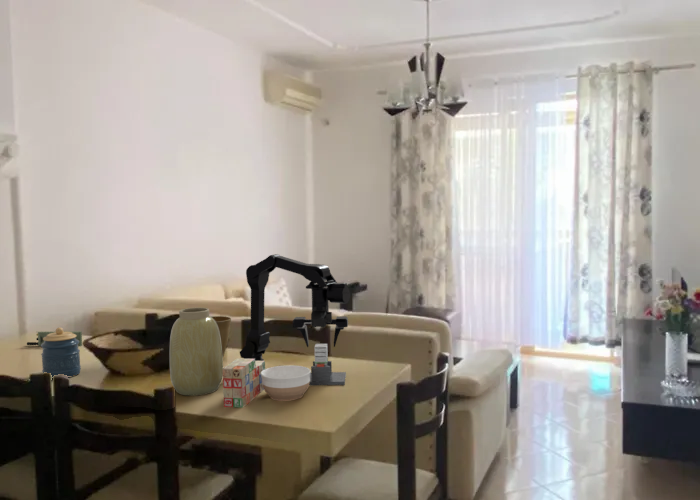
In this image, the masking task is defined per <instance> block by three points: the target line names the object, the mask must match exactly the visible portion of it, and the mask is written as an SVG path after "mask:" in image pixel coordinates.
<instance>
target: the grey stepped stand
mask: <svg viewBox="0 0 700 500" xmlns="http://www.w3.org/2000/svg"><path fill="white" fill-rule="evenodd" d="M332 364H333V363H332V360H328V366H324V364H317V366H315V360H313V361H312V366H311V365H310V370H311V373H310V383H309V386H345V385H346V379H345V378H346V377H347V372H346V371H343V372H342V371H337V372H336V371H332V368H333V367H332Z"/></svg>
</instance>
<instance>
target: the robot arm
mask: <svg viewBox="0 0 700 500" xmlns="http://www.w3.org/2000/svg"><path fill="white" fill-rule="evenodd" d="M275 269H281V270H284V271H287V272H290V273H291V272H292V273H294V274H298V275H300V276H303V278H305V279H306V280H308V281H309V283H308V284H307V285H306V286H305V289H306V290H307V289H308V290H309V289H311V313H310V319H309V318H308V319H306V316H295V317H294V318H293V320H292V328H293V329H296V330H297V331H300V333H301V334H302V337H303V340H304V343H305V345H306V347H307V348H309V334H308V333H309V332H308V326H309V325H311V327H312V328H318V327H319V328H320V327H321V328H325V327H326V326H327V325H331V326H332V325H335V327H334V337H333V338H334V339H333V348H335V347H336V345H337V340H338V337H339V334H340V332H341V330H344V329H345V328H348V325H349V318H348V316H345V315H344V316H336V317H335V318H333V314H332V311H329V309H330V308H329V306H330V305H329V304H330V303H332V304H333V303H334V304H348V303H349V301H350V300H351V299H350V298H351V292H350V288H349V287H348V283H347V282H342V283H338V281H336V279H335V278H334V276H333V275H332V273H331V270H330V268H329V266H328V265H326V264H319V263H306V262H303V261H300V260H296V259H292V258H290V257H285V256H284V255H283V256H282V255H280V254H278V253H277V254H271V255H268V256H267V257H266V258H265V259H263V260H261V261H259V262H257V263H255V264H253V265H252V264H251V265H249V266H248V267H247V268H246V271H245V275H246V276H245V277H246V282H247V285H248V286H249V288H250V328H249V331H248V333H247V335H246V339H245V345H244V347H243V348H242V349H241V350H240V351H239V355H240V358H242V359H255V361H265V360H264V358H263V355H264V354H265V353H266V350H267V349H268V348H269V345H270V344H271V341H270V337H271V333H270V332H269V331H266V328H265V289H266V287H267V284H268V283H269V278H270V274H271V272H273V271H274V270H275Z"/></svg>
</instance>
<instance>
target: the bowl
mask: <svg viewBox="0 0 700 500" xmlns="http://www.w3.org/2000/svg"><path fill="white" fill-rule="evenodd" d="M310 373H311V368H309V367H307V366H304V365H303V366H302V365H295V364H294V365H290V364H288V365H287V364H286V365H278V366H277V365H276V366H271V367H267V368H265V370H263V371H262V372H261V376H262V384H263V388H264V390H263V391H265V393H266V394H267V395H268V396H269V399H271V400H274V401H280V402H283V401H284V402H289V401H295V400H299V399H301V398H302V397H303V396H304V393H306V392H307V390H308V388H309V387H310V385H309V383H310Z"/></svg>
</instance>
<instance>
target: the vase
mask: <svg viewBox="0 0 700 500" xmlns="http://www.w3.org/2000/svg"><path fill="white" fill-rule="evenodd" d="M178 313H179V317H178V318H177V319H176V320H175V321H174V323H173V325H172V328H171V331H170V337H169V355H168V359H169V374H170V375H169V376H170V381H171V385H172V386H173V388H174V390H175V392H176V393H177V394H179V395H183V396H200V395H201V396H202V395H208V394H211V393H213V392H215V391H217V390H218V389H219V387H220V386H221V383H222V381H223V368H224V363H223V362H224V359H223V358H224V356H222V345H221V338H220V332H219V328H218V325H217V323H216V321H215V320H214V319H213V318H212V317H211V315H210V308H207V307H187V308H184V309H183V308H182V309H179V311H178Z"/></svg>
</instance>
